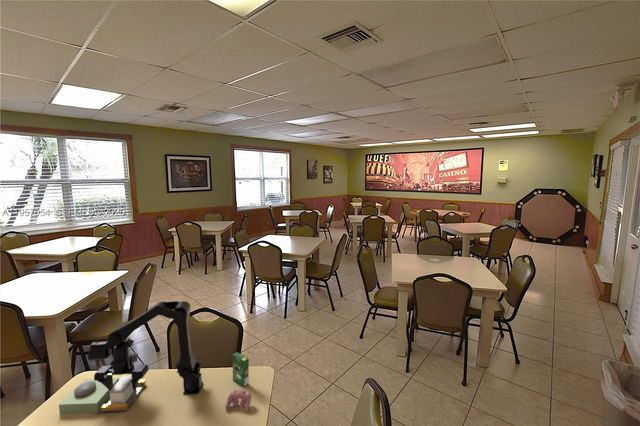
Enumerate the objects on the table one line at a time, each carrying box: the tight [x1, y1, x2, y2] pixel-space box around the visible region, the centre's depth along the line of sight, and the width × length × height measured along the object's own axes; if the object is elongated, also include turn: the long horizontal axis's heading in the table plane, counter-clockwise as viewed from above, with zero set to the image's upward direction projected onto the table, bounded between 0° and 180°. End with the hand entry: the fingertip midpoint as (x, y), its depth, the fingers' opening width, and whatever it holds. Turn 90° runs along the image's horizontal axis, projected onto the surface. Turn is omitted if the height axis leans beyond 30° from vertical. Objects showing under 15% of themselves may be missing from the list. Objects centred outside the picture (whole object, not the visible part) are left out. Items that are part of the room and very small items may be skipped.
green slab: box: [58, 377, 120, 415], centre depth 120 cm, size 14×14×6 cm
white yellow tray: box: [98, 379, 147, 414], centre depth 121 cm, size 10×15×2 cm, turn 4°
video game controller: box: [225, 389, 252, 413], centre depth 118 cm, size 10×5×7 cm, turn 85°
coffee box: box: [232, 351, 250, 388], centre depth 131 cm, size 8×3×13 cm, turn 57°
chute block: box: [109, 375, 134, 404], centre depth 121 cm, size 5×9×6 cm, turn 4°
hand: (123, 390), depth 121 cm, fingers open, 9 cm apart
